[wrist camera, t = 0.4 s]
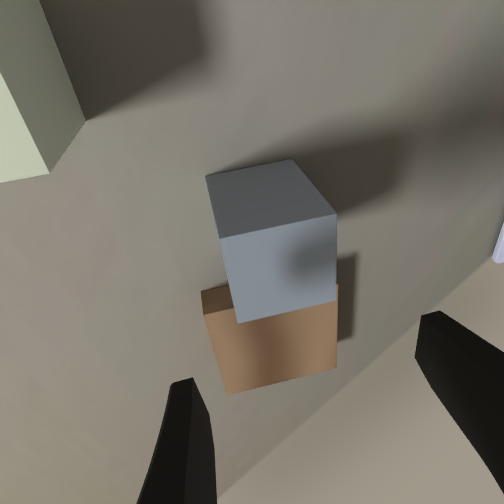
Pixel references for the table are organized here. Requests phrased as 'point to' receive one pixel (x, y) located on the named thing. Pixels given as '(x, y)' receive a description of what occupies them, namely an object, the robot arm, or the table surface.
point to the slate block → (274, 239)
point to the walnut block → (269, 342)
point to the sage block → (33, 94)
